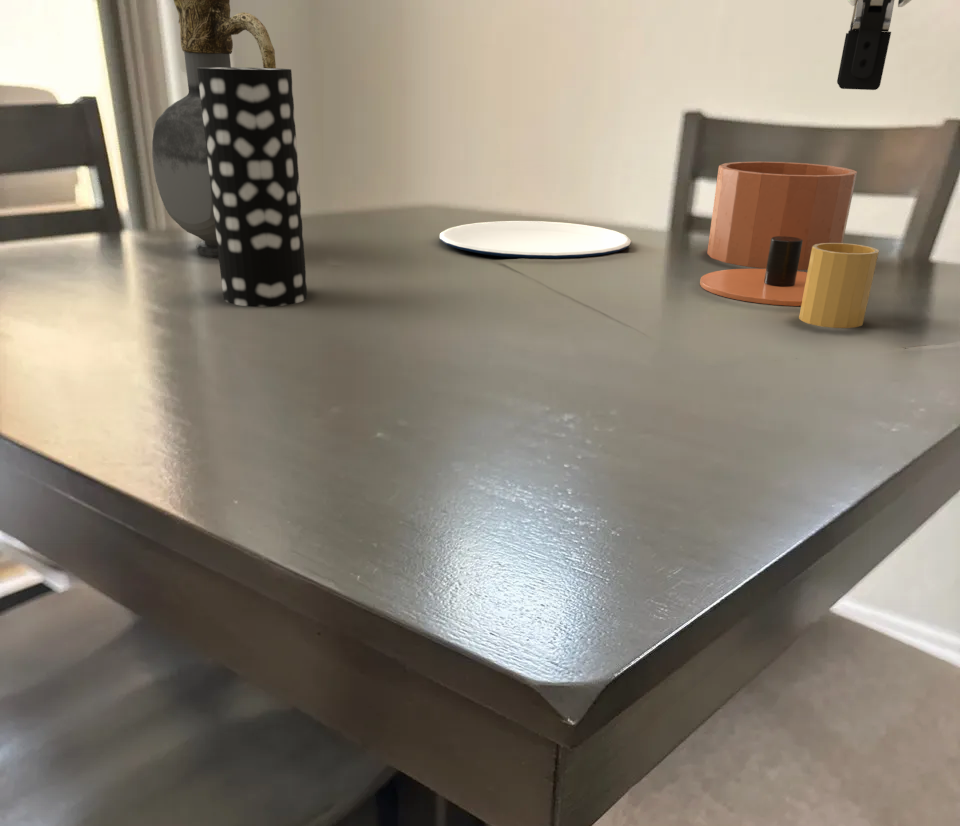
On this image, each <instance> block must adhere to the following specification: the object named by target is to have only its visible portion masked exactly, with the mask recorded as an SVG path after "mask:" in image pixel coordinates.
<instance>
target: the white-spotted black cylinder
mask: <svg viewBox="0 0 960 826" xmlns="http://www.w3.org/2000/svg"><path fill="white" fill-rule="evenodd" d="M197 71H198V80H199V89H200V97H201V106H202V115H203V124H204V132H205V141H206V150H207V158H208V167H209V176H210V185H211V193H212V202H213V211H214V219H215V228H216V237H217V246H218V254H219V258H218V262H219V263H218V264H219V272H220V278H221V288H222V289H221V290H222V297H223V301H225V302H226V303H229V304H231V305H236V306H241V307H255V308H267V307H282V306H290V305H294V304H299V303H302V302H305V300H307V299H308V286H307V285H308V284H307V271H306V269H307V268H306V258H305V257H306V256H305V242H304V229H303V214H302V201H301V186H300V174H299V173H300V172H299V159H298V145H297V130H296V117H295V116H296V115H295V102H294V88H293V75H292V69H291V68H278V67H276V68H264V67H240V66H239V67H237V66H236V67H235V66H231V67H200V68H197Z"/></svg>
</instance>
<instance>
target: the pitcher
mask: <svg viewBox="0 0 960 826" xmlns="http://www.w3.org/2000/svg"><path fill="white" fill-rule="evenodd" d="M230 1H231V0H173V4H174V6H175V9H176V11H177V14H178V24H179V37H180V38H179V39H180V46H181V51H182V52H183V53H184V60H185V61H184V62H185V70H186V79H187V87H188V94H186V95H185V96H183V97H182V98H180V99H179V100H176V101H175V102H173V103H172V104H171V105H169V106H168V107H167V108H166V109H165V110H164V111H163V112H162V113H161V114H160V116H159V117H158V118H157V119H156V121H155V124H154V127H153V128H154V129H153V132H152V142H151V145H152V147H151V148H152V149H151V156H152V168H153V173H154V174H153V175H154V178H155V179H154V180H155V183H156V187H157V190H158V193H159V197H160V199H161V201H162V204H163V206H164V208H165V211H167V214H168V215H169V217H170V218H171V219H172V220H173V221H174V222H175V223H176V224H177V225H178V226H179V227H180V228H182V229H183V230H184V231H185V232H186V233H189V234H191V235H193V236H196V237H197V238H199V239H201V240H202V241H200V242H198V243H197V244H196V245H195V250H196V252H197V254H198V255H200V256H203V257H208V258H216V259H219V254H218V246H217V237H216V228H215V219H214V211H213V202H212V193H211V185H210V176H209V167H208V158H207V150H206V141H205V132H204V124H203V115H202V106H201V97H200V89H199V80H198V71H197V68H200V67H232V64H231V54H233V49H234V43H233V42H234V41H233V37H232V36H236V35H239V34H240V33H242V32H243V31H246V32H249V33H250V34H251V35H252V36H253V38H254V39H255V41H256V43H257V45H258V48H259V52H260V55H261V61H262V68H277V64H276V53H275V52H276V51H275V48H274V46H273V43H272V40H271V38H270V34H269V32H268V30H267V28H266V26H265V25H264V24H263V23H262V21H260V19H259V18H258V17H257V16H255V15H253V14H251V13H249V12H245V11H244V12H238V13H236V14H234V15H233V16H231V2H230Z"/></svg>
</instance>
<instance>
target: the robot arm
mask: <svg viewBox="0 0 960 826" xmlns="http://www.w3.org/2000/svg"><path fill="white" fill-rule="evenodd" d="M911 1H912V0H898V1H897V8H903V7H905V6H906V5H908V4H909V3H910V2H911ZM847 3H849V5H851V7H853V10H852V16H851V21H850V26H849V30H848V32H846V33H845V37H844V41H843V48H842V53H841V58H840V63H839V69H838V73H837V80H836V84H837V85H838V87H839V88H840V89H842V90H859V91H860V90H861V91H862V90H864V91H876V90H878V89H879V88H880V87H881V83H882V78H883V74H884V69H885V64H886V60H887V54H888V49H889V45H890V39H891V35H892V31H889V30H890V28H891V22H892V18H893V12H894V5H895V0H847Z"/></svg>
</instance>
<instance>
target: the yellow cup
mask: <svg viewBox="0 0 960 826" xmlns="http://www.w3.org/2000/svg"><path fill="white" fill-rule="evenodd" d="M879 254H880V250H879V249H877V248H876V247H873V246H868V245H863V244H856V243H846V242H843V243H820V244H815V245H813V246H812V250H811V256H810V261H809V266H808V270H807V271H806V272H807V277H806V283H805V288H804V293H803V299H802V304H801V306H800V310H799V314H798V319H799V320H800V321H801V322H803V323H805V324H808V325H813V326H818V327H823V328H832V329H851V328H858V327H861V326H863V324H864V322H865V317H866V314H867V313H866V312H867V308H868V305H869V304H868V303H869V299H870V295H871V290H872V285H873V280H874V276H875V273H876V272H875V271H876V267H877V263H878V260H879Z"/></svg>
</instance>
